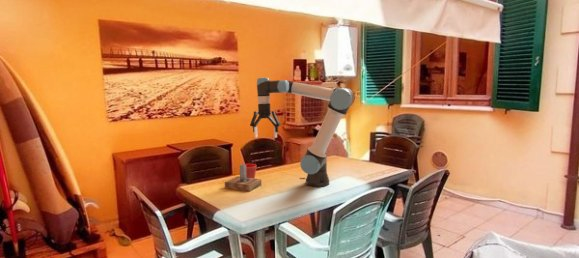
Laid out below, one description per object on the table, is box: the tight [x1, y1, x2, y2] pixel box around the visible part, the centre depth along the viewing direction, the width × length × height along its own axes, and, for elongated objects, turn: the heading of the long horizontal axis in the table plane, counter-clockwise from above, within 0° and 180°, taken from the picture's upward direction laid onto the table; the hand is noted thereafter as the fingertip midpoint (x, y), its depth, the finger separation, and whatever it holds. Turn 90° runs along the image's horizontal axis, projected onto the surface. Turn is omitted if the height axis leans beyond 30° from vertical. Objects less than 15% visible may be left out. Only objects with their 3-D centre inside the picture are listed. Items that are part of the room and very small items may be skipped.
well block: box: [224, 175, 262, 192], centre depth 215 cm, size 18×14×4 cm
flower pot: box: [244, 163, 257, 179], centre depth 232 cm, size 11×11×10 cm
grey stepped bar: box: [238, 163, 249, 183], centre depth 215 cm, size 5×5×14 cm
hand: (265, 137), depth 214 cm, fingers open, 13 cm apart
